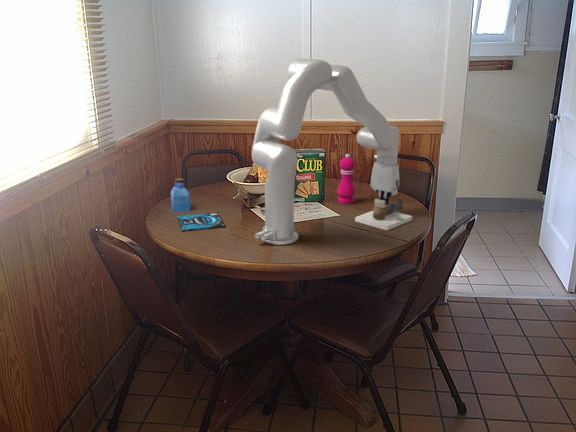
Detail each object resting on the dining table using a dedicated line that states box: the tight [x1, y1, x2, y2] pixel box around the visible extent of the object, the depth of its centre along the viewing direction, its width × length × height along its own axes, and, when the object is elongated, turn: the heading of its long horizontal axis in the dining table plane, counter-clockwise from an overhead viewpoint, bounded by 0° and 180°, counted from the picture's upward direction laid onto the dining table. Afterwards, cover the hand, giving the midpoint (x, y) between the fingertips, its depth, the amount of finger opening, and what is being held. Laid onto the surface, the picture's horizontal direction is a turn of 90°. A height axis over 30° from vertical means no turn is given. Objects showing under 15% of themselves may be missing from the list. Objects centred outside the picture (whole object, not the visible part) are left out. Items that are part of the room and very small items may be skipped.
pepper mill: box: [336, 153, 356, 205], centre depth 215 cm, size 7×7×20 cm
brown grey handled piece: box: [372, 198, 404, 219], centre depth 197 cm, size 16×4×6 cm, turn 136°
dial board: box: [354, 210, 413, 231], centre depth 197 cm, size 16×15×2 cm
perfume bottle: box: [170, 177, 192, 213], centre depth 206 cm, size 6×6×12 cm
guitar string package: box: [177, 212, 227, 233], centre depth 193 cm, size 15×1×15 cm
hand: (383, 207), depth 203 cm, fingers closed
